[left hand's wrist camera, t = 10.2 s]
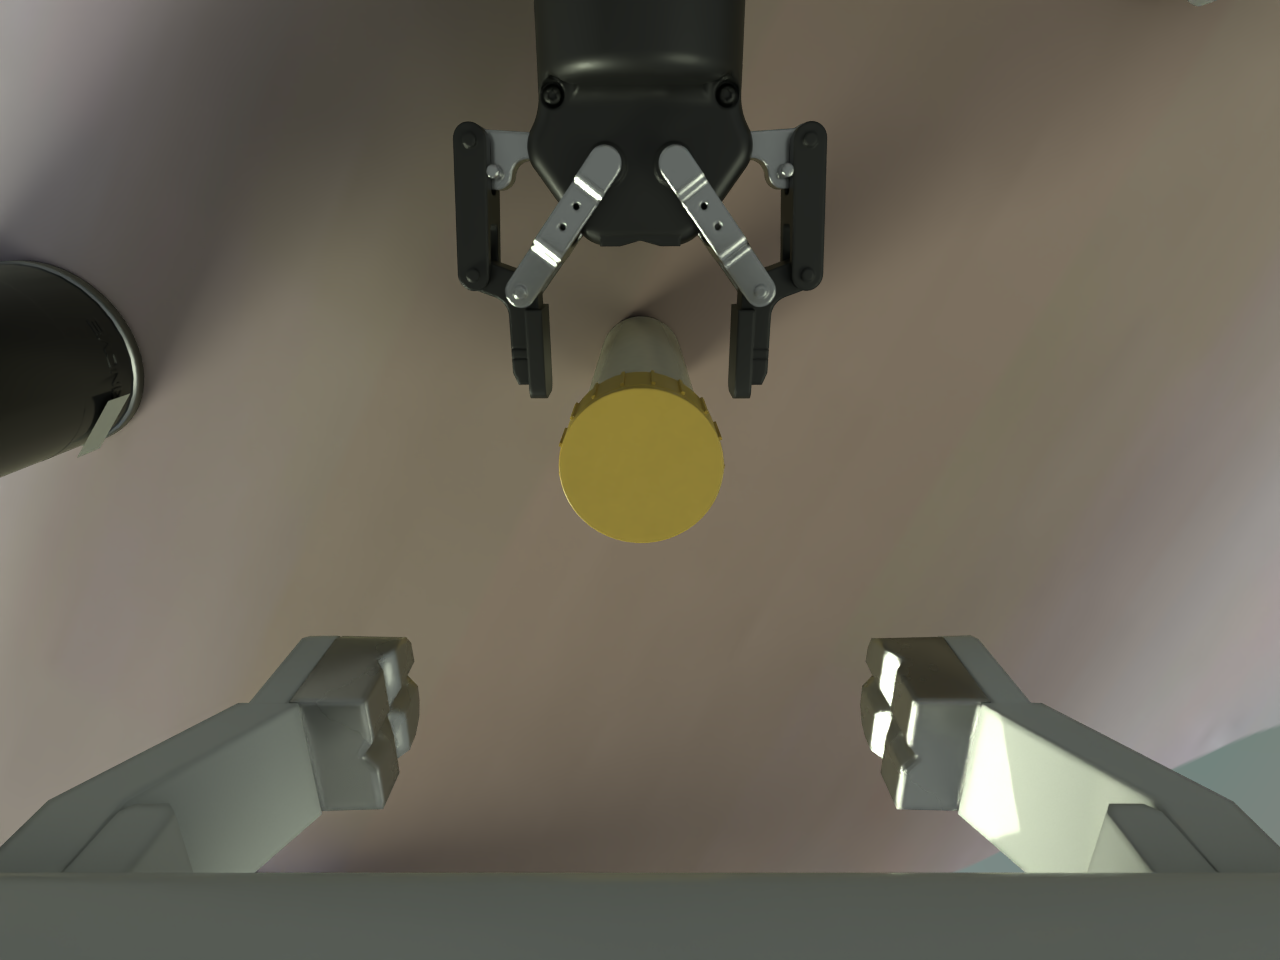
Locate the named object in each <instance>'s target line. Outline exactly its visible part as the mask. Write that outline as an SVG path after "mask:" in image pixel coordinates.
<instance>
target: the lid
mask: <svg viewBox="0 0 1280 960" xmlns="http://www.w3.org/2000/svg"><path fill="white" fill-rule="evenodd" d="M570 419H571V420H570V423H569V426H568V428H565V430H564V433H563V435H562V438H561V441H560V444H559V446H560V447H561V450H560V455H559V475H560V480H561V485H562V488H563V491H564V493H565V496H566V498H567V500H568V501H569V503H570V505H571V506H572V508H573V509H574V511H575V512H576V513H577V514H578V515H579V516H580V517H581V519H582V520H584V521H585V522H586V523H587V524H588V525H589V526H591V527H592V528H594V529H595V530H597V531H598V532H600V533H602V534H604V535H606V536H609V537H612V538H614V539H617V540H622V541H626V542H634V543H649V542H656V541H661V540H665V539H669V538H671V537H674V536H676V535H678V534H680V533H682V532H684V531H686V530H687V529H689V528H690V527H692V526H693V525H695V524H696V523H697V522H698V521H699V520H700V519H701V518H702V517H703V516H704V515H705V514H706V513H707V511H708V510H709V509H710V507H711V506H712V504H713V503H714V501H715V499H716V497H717V495H718V493H719V490H720V487H721V483H722V478H723V473H724V467H725V465H724V459H723V451H722V447H721V443H720V440H722V437H721V434H720V432H719V429H718V426H717V424H716V421H715V422H713V421H712V418H711V416H710V413H709V411H708V410H707V407H706V404H705V401H704V399H703V398H702V397H701V398H699V397H698V396H697V395H696V394H695V393H694V392H693V391H692V390H691V389H690V388H688V387H687V386H686V385H684V384H683V382H682V380H680V379H679V380H678V381H677V380H676V379H673V378H671V377H668V376H666V375H662V374H658V373H655V371H654V370H651V372H630V373H625V371H623V372H621V375H617V376H614V377H612V378H609V379H607V380H605V381H603V382H602V383H600V384H598V382H597V383H596V384H595V385H594V388H593V389H592V390H591V391H589V392H588V393H587V395H586V396H585V397H584V398H583V399H582V400H581V402H580V403H576V404H575V406H574V409H573V412H572V414H571V417H570Z"/></svg>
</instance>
